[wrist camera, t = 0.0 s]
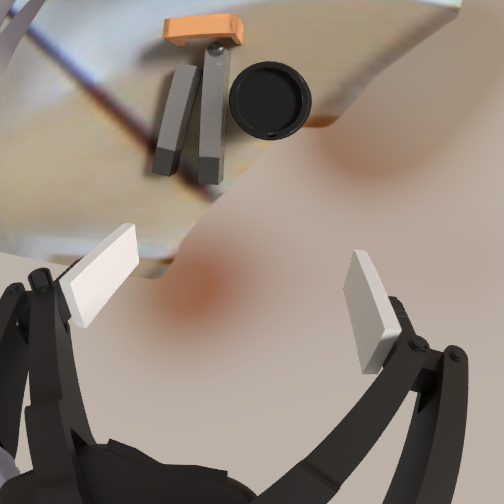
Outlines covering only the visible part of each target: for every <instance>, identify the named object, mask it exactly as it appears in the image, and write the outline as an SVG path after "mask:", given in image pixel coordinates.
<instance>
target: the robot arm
mask: <svg viewBox="0 0 504 504" xmlns="http://www.w3.org/2000/svg"><path fill="white" fill-rule="evenodd" d="M138 264H139V258H138V250H137V242H136V234H135V224H129V223H124V224H122V225H121V226H120V227H119V228H117V229H116V230H115V231H114V232H113V233H111V234H110V235H109V236H108V237H107V238H105V239H104V240H103V241H102V242H101V243H100V244H98V245H97V246H96V247H95V248H94V249H93V250H91V251H90V252H89V253H88V254H87V255H86V256H85V257H82V258H81V259H79V260H77V261H75V262H74V263H73V264H72V265H71V266H70V267H69V268H68V269H66V271H65V272H63V273H62V274H61V275H60V276H59V277H58V278H57V279H56V280H55V281H54V282H53V280H52V276H51V273H50V270H49V269H48V268H39V269H36V270H34V271H32V272H31V273H30V274H29V275H28V281H29V283H30V286H31V289H32V291H25V288H24V285H23V284H22V283H13V284H11V285H10V286H8V287H7V288H6V290H5V291H4V293H3V295H2V297H1V299H0V504H327V503H328V502H329V501H330V500H331V498H333V496H334V495H335V494H336V493H337V492H338V490H339V489H340V486H341V485H342V484H343V483H344V481H345V480H346V479H347V478H348V477H349V476H350V474H351V473H352V472H353V471H354V470H355V468H356V467H357V466H358V465H359V464H360V462H361V461H362V460H363V459H364V457H365V456H366V455H367V453H368V452H369V451H370V449H371V448H372V447H373V445H374V444H375V443H376V441H377V440H378V438H379V437H380V436H381V434H382V433H383V431H384V430H385V429H386V427H387V426H388V424H389V423H390V421H391V420H392V418H393V416H394V415H395V413H396V412H397V410H398V409H399V407H400V405H401V404H402V402H403V400H404V399H405V397H406V395H407V394H408V392H409V390H411V391H414V392H418V393H417V398H416V402H415V407H414V411H413V415H412V419H411V423H410V427H409V430H408V434H407V438H406V441H405V444H404V447H403V451H402V454H401V457H400V460H399V463H398V465H397V468H396V471H395V474H394V476H393V479H392V481H391V484H390V487H389V489H388V491H387V494H386V496H385V499H384V501H383V503H382V504H451V501H452V498H453V494H454V490H455V486H456V482H457V477H458V473H459V468H460V463H461V457H462V450H463V444H464V437H465V428H466V418H467V404H468V357H467V355H466V353H465V351H463V350H462V349H461V348H460V347H458V346H454V345H450V346H448V347H447V348H446V349H445V350H444V352H440V351H436V350H432V349H430V347H429V344H428V343H427V341H426V340H425V339H424V338H422V337H420V336H418V335H416V334H415V331H414V329H413V327H412V324H411V322H410V320H409V318H408V315H407V314H406V312H405V309H404V307H403V305H402V303H401V302H400V301H399V300H398V299H397V298H396V297H392V296H387V294H386V292H385V289H384V287H383V285H382V283H381V280H380V278H379V276H378V274H377V272H376V270H375V268H374V266H373V263H372V261H371V259H370V257H369V255H368V253H367V251H364V250H356V249H354V252H353V255H352V259H351V263H350V267H349V270H348V274H347V277H346V281H345V285H344V288H343V290H344V294H345V297H346V302H347V306H348V310H349V314H350V319H351V323H352V327H353V332H354V336H355V341H356V345H357V350H358V355H359V360H360V365H361V370H362V374H378V372H379V371H380V369H381V367H382V366H383V370H382V372H381V373H380V374H379V376H378V377H377V378H376V379H375V381H374V382H373V383H372V385H371V386H370V387H369V389H368V390H367V391H366V392H365V394H364V395H363V396H362V398H361V399H360V400H359V401H358V402H357V403H356V405H355V406H354V407H353V408H352V409H351V411H350V412H349V413H348V414H347V415H346V416H345V418H344V419H343V420H342V421H341V422H340V423H339V424H338V425H337V426H336V427H335V428H334V430H333V431H332V432H331V433H330V434H329V435H328V436H327V437H326V438H325V439H324V440H323V441H322V442H321V443H320V444H319V445H318V446H317V447H316V448H315V449H314V450H313V451H312V452H311V453H310V454H309V455H308V456H307V457H306V458H305V459H303V460H302V461H300V462H299V463H297V464H296V465H295V466H294V467H293V468H292V469H291V470H289V471H288V472H287V473H286V474H285V475H284V476H282V477H281V478H280V479H279V480H278V481H277V482H275V483H274V484H273V485H272V486H270V487H269V488H268V489H267V490H266V491H264V492H263V493H262V494H260V495H259V496H257V495H256V494H255V493H254V492H253V491H252V490H251V489H249V488H248V487H247V486H245V485H244V484H242V483H240V482H239V481H237V480H235V479H232V478H230V477H227V475H228V472H227V471H224V470H218V469H213V468H208V467H203V466H198V465H170V464H162V463H159V462H158V461H156V460H154V459H152V458H151V457H149V456H147V455H146V454H144V453H143V452H141V451H139V450H138V449H136V448H134V447H131V446H128V445H125V444H123V443H120V442H118V441H115V440H112V439H109V441H108V444H97V443H96V441H95V440H94V438H93V436H92V433H91V430H90V427H89V424H88V420H87V416H86V413H85V409H84V405H83V401H82V396H81V392H80V388H79V383H78V378H77V373H76V367H75V362H74V356H73V349H72V341H71V334H70V326H69V323H68V320H69V319H70V317H72V319H73V322H74V324H75V325H76V326H79V327H81V328H84V329H86V328H87V327H88V325H89V324H90V323H91V321H92V320H93V319H94V318H95V316H96V315H97V314H98V312H99V311H100V310H101V309H102V307H103V306H104V305H105V303H106V302H107V301H108V300H109V298H110V297H111V296H112V295H113V294H114V292H115V291H116V290H117V288H118V287H119V286H120V285H121V284H122V283H123V281H124V280H125V279H126V278H127V277H128V275H129V274H130V273H131V272H132V271H133V269H134V268H135V267H136V266H137V265H138ZM17 324H18V325H17ZM28 370H29V385H30V400H31V405H30V406H26V407H25V423H26V431H27V437H28V444H29V450H30V455H31V460H32V465H33V470H30V471H28V472H26V473H23V474H20V471H19V469H18V468H17V467H16V466H15V462H14V460H15V457H16V452H17V446H18V437H19V427H20V418H21V410H22V403H23V397H24V391H25V385H26V380H27V375H28Z"/></svg>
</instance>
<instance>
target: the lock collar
mask: <svg viewBox="0 0 504 504" xmlns="http://www.w3.org/2000/svg"><path fill="white" fill-rule="evenodd" d="M243 32H244V26H243V25H242V23H241V21H240V19H239V17H238V15H237V14H236V13H234V14H209V15H196V16H186V17H177V18H170V19H165V20H164V28H163V37H162V38H164V39H166V40H168V41H170V42H171V43H173V44H175V45H177V46H179V47H182V46H184V45H185V39H196V38H215V37H232V39H233V40H234V41H235V43H236V44H242V43H243Z"/></svg>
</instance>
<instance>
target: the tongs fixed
mask: <svg viewBox="0 0 504 504" xmlns="http://www.w3.org/2000/svg"><path fill="white" fill-rule="evenodd" d="M230 58H231V53H230V52H229V51H228V49H227V48H226V47H225V46H224V45H223V44H222V43H220V42H214V43H212V44H210V45H209V47H208V49H207V50H205V59H204V72H203V86H202V101H201V120H200V144H199V173H198V183H201V184H215V185H218V184H219V183H220V182H221V181H222V180H223V164H224V145H225V127H226V111H227V97H228V83H229V70H230Z"/></svg>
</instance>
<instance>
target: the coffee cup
mask: <svg viewBox="0 0 504 504" xmlns="http://www.w3.org/2000/svg"><path fill="white" fill-rule="evenodd" d="M229 106H230V111H231V114H232V116H233V118H234V120H235V121H236V123H237V124H238V126H239V127H240V128H241V129H242V130H243V131H245V132H246V133H248V134H249V135H251V136H253V137H256V138H259V139H263V140H279V139H283V138H286V137H289V136H290V135H292V134H294V133H295V132H297V130H299V129H300V128H301V127H302V126H303V125H304V123H305V122H306V121H307V118H308V116H309V114H310V111H311V107H312V98H311V92H310V89H309V87H308V85H307V83H306V81H305V80H304V78H303V77H302V76H301V75H300V74H299V73H298V72H297V71H296V70H294V69H293V68H291V67H290V66H287V65H285V64H283V63H278V62H269V61H266V62H260V63H256V64H254V65H251V66H249V67H248V68H246V69H245V70H243V71H242V72H241V73H240V74H239V75H238V76H237V78H236V79H235V80H234V82H233V84H232V87H231V89H230V94H229Z"/></svg>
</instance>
